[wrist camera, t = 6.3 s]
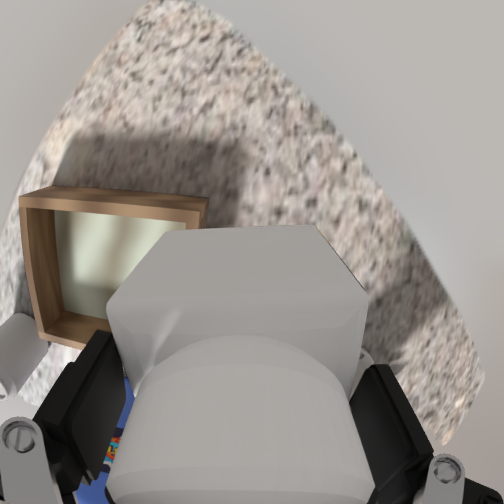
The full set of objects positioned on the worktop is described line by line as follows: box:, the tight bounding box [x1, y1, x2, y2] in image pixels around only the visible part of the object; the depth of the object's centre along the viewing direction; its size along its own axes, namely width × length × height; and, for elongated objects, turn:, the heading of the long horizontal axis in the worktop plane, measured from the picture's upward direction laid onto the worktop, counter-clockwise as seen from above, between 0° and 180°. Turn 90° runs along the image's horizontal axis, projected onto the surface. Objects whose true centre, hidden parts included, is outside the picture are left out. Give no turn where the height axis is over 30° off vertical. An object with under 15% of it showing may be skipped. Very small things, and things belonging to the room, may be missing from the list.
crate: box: [19, 186, 209, 350], centre depth 28 cm, size 18×16×6 cm
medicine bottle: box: [104, 225, 378, 504], centre depth 10 cm, size 7×7×12 cm
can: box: [0, 313, 49, 401], centre depth 29 cm, size 8×8×12 cm
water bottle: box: [75, 377, 135, 504], centre depth 26 cm, size 9×9×25 cm
